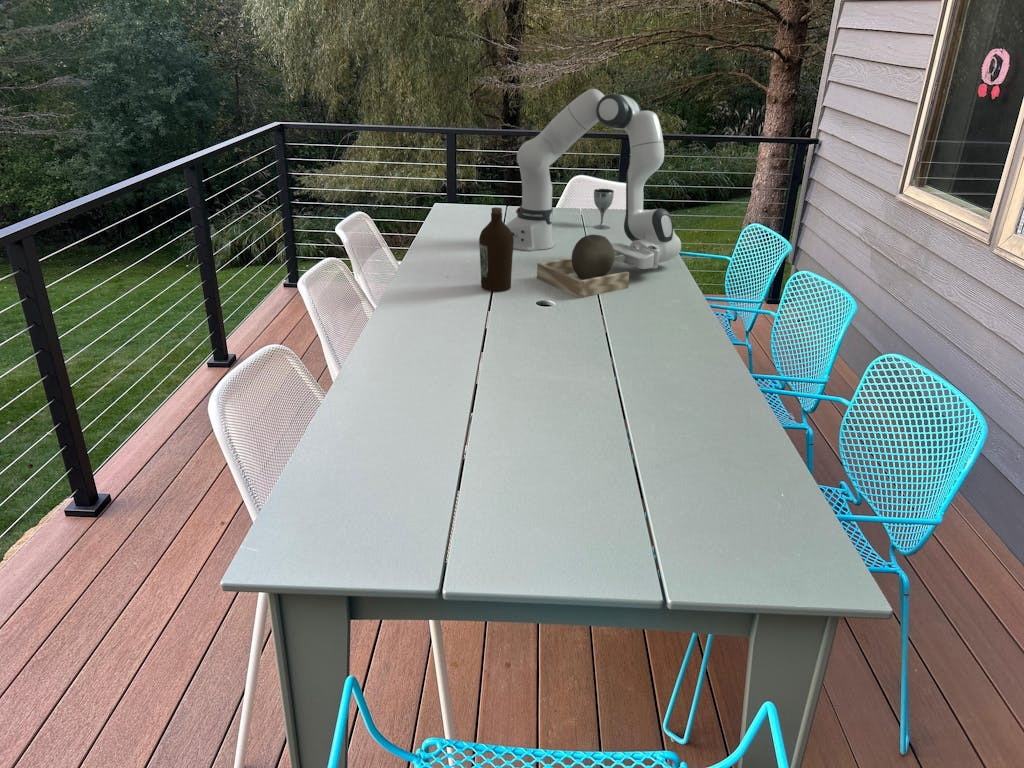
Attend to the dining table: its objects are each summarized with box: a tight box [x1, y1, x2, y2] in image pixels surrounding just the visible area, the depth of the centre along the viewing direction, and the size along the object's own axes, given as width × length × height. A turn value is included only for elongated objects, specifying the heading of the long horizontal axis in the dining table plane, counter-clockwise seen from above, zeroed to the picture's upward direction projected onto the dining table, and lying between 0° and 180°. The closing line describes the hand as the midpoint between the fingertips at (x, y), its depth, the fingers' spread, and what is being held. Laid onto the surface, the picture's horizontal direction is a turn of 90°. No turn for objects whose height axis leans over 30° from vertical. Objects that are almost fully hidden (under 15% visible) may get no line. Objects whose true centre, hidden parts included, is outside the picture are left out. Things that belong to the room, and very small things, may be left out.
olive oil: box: [478, 207, 514, 293], centre depth 237 cm, size 11×11×25 cm
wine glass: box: [592, 188, 615, 230], centre depth 313 cm, size 8×8×15 cm
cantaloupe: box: [571, 234, 615, 280], centre depth 247 cm, size 14×14×15 cm
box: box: [536, 256, 630, 299], centre depth 247 cm, size 20×23×5 cm
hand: (609, 258), depth 251 cm, fingers closed
